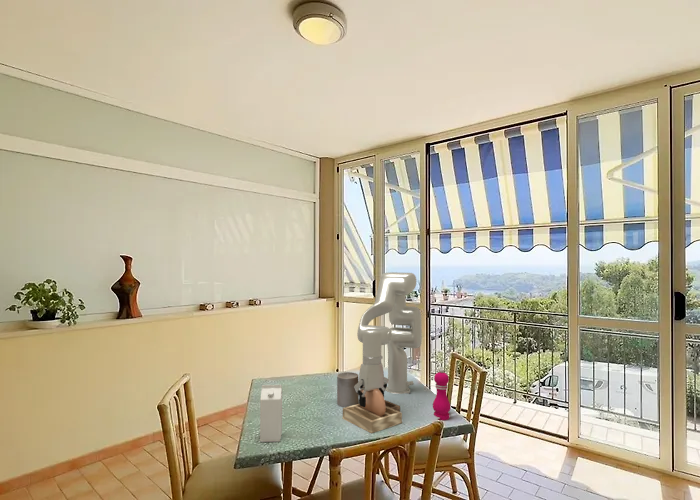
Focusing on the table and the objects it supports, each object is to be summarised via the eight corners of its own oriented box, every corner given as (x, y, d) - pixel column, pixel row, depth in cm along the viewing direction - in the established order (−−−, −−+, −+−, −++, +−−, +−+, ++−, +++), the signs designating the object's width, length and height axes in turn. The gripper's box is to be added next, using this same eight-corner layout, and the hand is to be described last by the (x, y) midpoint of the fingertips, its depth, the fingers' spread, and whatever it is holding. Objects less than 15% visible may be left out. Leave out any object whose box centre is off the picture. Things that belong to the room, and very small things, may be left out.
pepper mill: (451, 415, 168) (451, 367, 168) (449, 421, 161) (449, 371, 161) (433, 413, 170) (433, 365, 171) (431, 419, 163) (431, 370, 164)
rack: (372, 411, 171) (372, 400, 171) (402, 425, 157) (402, 412, 157) (342, 420, 161) (342, 408, 161) (371, 436, 147) (371, 422, 147)
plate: (363, 413, 165) (364, 382, 165) (385, 425, 155) (386, 391, 155) (359, 414, 164) (360, 383, 164) (380, 426, 153) (381, 392, 153)
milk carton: (262, 433, 148) (263, 382, 149) (281, 433, 149) (282, 381, 150) (259, 442, 141) (260, 388, 142) (280, 441, 142) (280, 387, 143)
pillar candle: (354, 401, 184) (354, 368, 185) (361, 408, 175) (361, 374, 175) (334, 403, 181) (334, 370, 182) (340, 411, 172) (340, 376, 172)
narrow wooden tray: (375, 403, 181) (375, 395, 182) (400, 414, 169) (400, 405, 169) (365, 406, 178) (365, 398, 178) (390, 417, 165) (390, 408, 165)
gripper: (381, 355, 168) (381, 396, 168) (349, 361, 158) (348, 405, 157) (394, 359, 162) (394, 401, 162) (361, 365, 152) (361, 411, 151)
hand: (371, 403), depth 159 cm, fingers open, 9 cm apart
